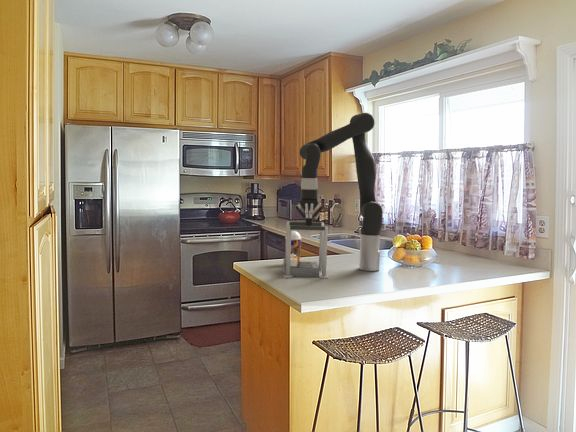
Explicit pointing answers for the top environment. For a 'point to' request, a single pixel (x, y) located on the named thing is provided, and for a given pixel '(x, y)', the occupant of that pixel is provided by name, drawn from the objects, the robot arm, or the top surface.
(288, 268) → the gray open frame stand
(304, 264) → the gray open tray
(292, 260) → the toggle white near
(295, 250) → the smoothie
